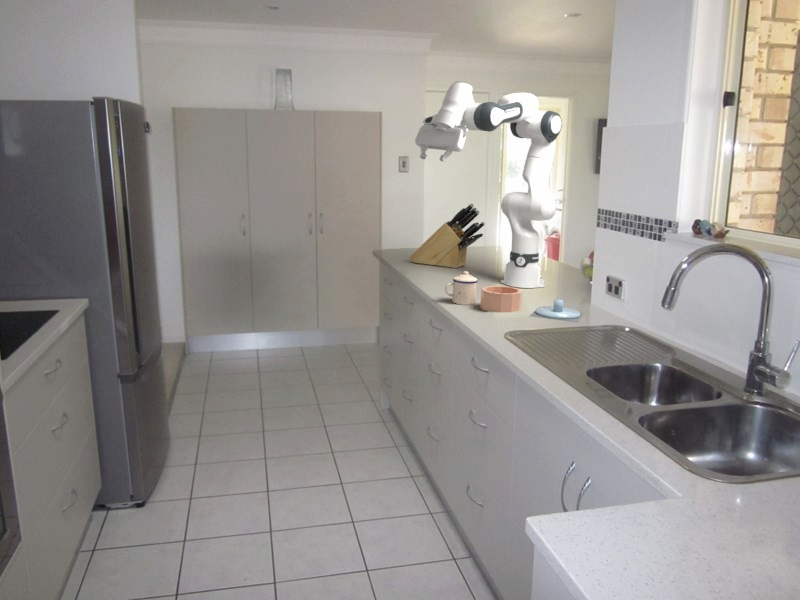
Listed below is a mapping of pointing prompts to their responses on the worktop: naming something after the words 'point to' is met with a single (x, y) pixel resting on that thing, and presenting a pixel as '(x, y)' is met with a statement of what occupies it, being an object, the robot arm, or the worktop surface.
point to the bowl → (501, 299)
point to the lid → (557, 311)
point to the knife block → (450, 241)
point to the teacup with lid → (463, 289)
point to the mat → (558, 319)
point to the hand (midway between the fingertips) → (432, 159)
